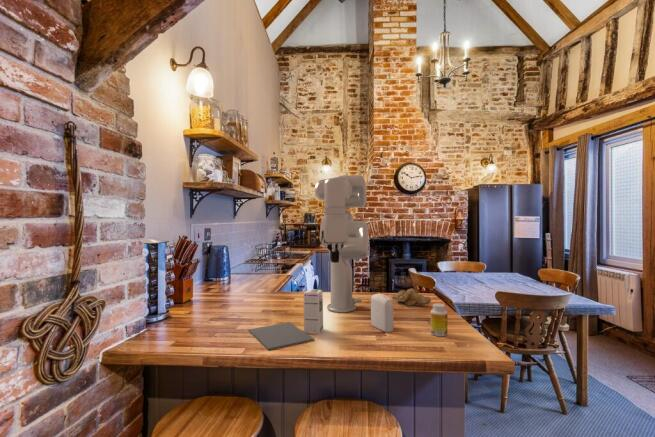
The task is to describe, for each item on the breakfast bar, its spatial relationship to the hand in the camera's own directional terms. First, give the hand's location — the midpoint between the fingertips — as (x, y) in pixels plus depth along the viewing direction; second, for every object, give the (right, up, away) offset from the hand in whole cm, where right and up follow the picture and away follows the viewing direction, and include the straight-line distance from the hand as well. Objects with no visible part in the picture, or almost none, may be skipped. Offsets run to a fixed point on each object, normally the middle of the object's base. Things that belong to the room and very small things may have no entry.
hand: (334, 262), depth 126 cm
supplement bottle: (+36, -24, -7) cm, 44 cm away
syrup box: (-8, -25, -4) cm, 26 cm away
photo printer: (+17, -24, -1) cm, 30 cm away
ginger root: (+36, -24, +33) cm, 54 cm away
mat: (-19, -24, -8) cm, 32 cm away
